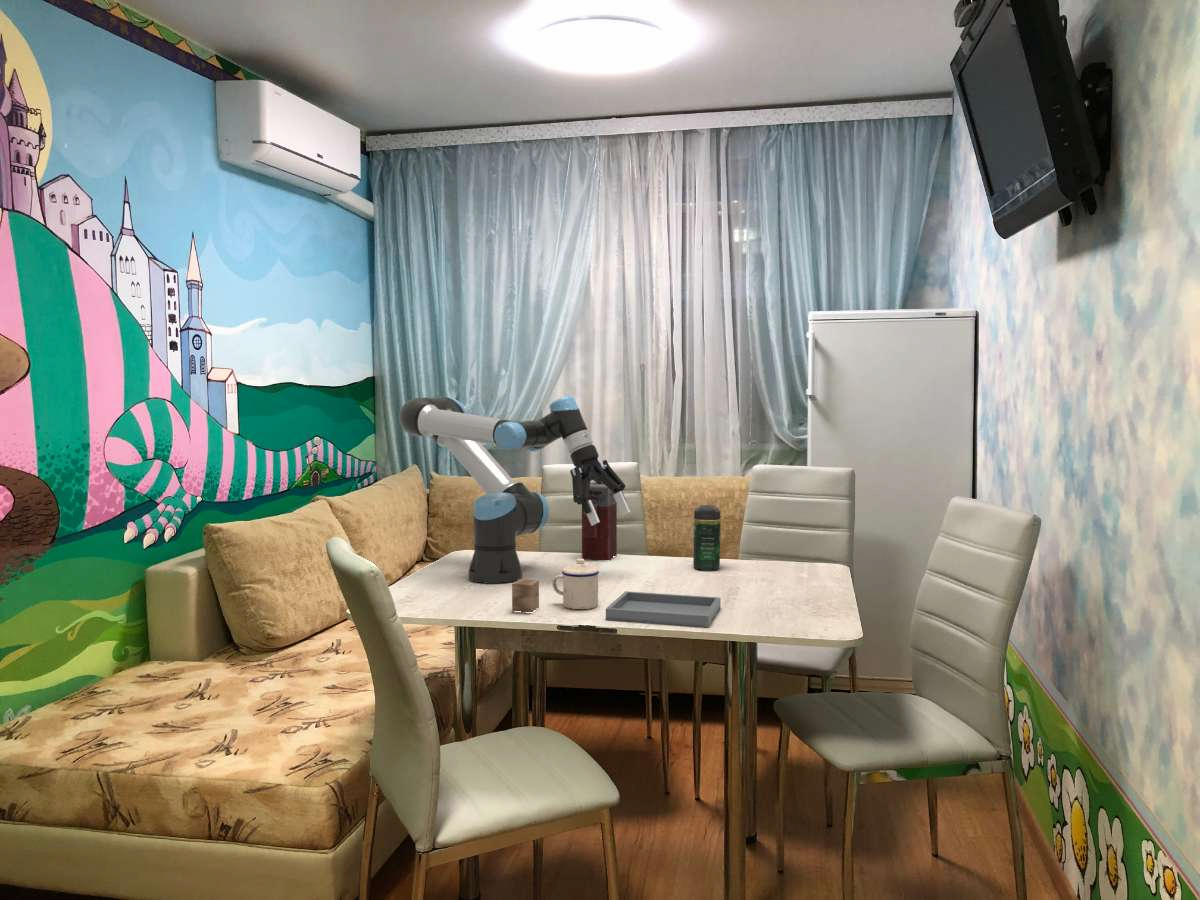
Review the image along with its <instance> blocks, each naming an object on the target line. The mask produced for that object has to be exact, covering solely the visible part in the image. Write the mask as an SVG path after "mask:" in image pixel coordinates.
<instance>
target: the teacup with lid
mask: <svg viewBox="0 0 1200 900" xmlns="http://www.w3.org/2000/svg"><path fill="white" fill-rule="evenodd" d="M585 561H586V560H584V559H582V558H576V562H574V563H573V564H571V565H569V566H565V567H564V568H562V571H561V574H558V575H555V576H554V577H553V578H552V581H551V582H552V583H551V585H552V588H553V591H554V592H555V593H556V594H557V595H560V596H562V604H563V605H562V606H563V607H564V606H565V607H564V608H566V607H567V608H566V609H569V608H572V609H571V610H575V609H586V610H592V609H595V608H596V607H598V606H599V573H600V571H599V569H598V567H596V566H592V565H591V564H590V563H588V562H585ZM557 579H562V591H561V590H560V589H559V588H558V586H557ZM591 608H592V609H591Z"/></svg>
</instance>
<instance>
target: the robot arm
mask: <svg viewBox="0 0 1200 900" xmlns="http://www.w3.org/2000/svg"><path fill="white" fill-rule="evenodd" d="M549 410H550V413H548V414H546V415H545V416H543V417H542V418H539V419H536V420H534V419H533V420H522V421H518V420H517V421H516V420H509V419H503V418H502V419H501V418H496V417H490V416H482V415H477V414H469V413H467V410H466V409H465V407H464V405H463V404H462V403H461V402H460V401H459V400H457V399H456V398H454V397H448V396H438V397H416V398H411V399H408V400H407V401H406V402H405V403H404V404H403V405H402V406H401V408H400V411H399V414H398V420H399V425H400V427H401V428H402V429H403V431H404V432H406V433H407V434H408V435H411V436H414V437H425V438H430V437H431V438H432V439H433V440H434V442H435V443H436V444H437V445H438V446H439V447H441V448H442V447H446V448H447V449H448V450H449V452H450V453H451V454H452V456H454V457H455V458H456V460H457V462H459V463H460V464H461V466H463V468H464V469H465V470H466V471H467V473H469V475H470V476H471V478H473V480H475V482H476V483H477V485H479V486H480V488H481V489H482V490H483V491H484V492H485V494H484V495H481V496H479V497H477V498H476V499H475V501H474V502H473V511H472V516H473V541H474V542H473V543H474V544H473V545H474V546H473V547H474V548H473V549H474V550H473V554H472V558H471V560H470V564H469V566H468V567H469V568H468V575H467V576H468V577H467V579H468V578H469V579H470V580H469V579H468V580H469V581H471V580H473V581H477V582H476V583H478V582H487V583H486V584H503V583H502V582H507V583H512V582H511V581H513V582H516V580H517V581H518V580H519V579H522V578H523V568H522V564H521V561H520V559H519V556H518V553H517V543H516V542H517V537H518V536H523V535H527V534H533V533H535V532H537V531H539V530H541V529H542V528H543V527H544V526H545V525H546V524H547V522H548V519H549V509H550V508H549V503H548V501H547V500H546V498H545V497H544V495H542V494H541V493H540V492H537V491H530V490H529V489H528V487H527V486H526V485H525V484H524V483H523V482H522V481H515V480H513V478H512V477H511V476H510V474H508V473H507V471H506V470H505V469H504V468H503V467H502V466H501V464H500V463H499V462H498V461H497V460H496V459H495V458H494V456H493V455H492V454H491V453H490V452H489V451H488V450H487V448H486V447H485V446H484V445H483V444H486V445H492V446H498V447H499V448H501V449H502V450H509V451H515V450H519V449H520V450H521V449H526V450H529V451H530V452H536V451H537V452H538V451H539V450H542V449H544V448H545V447H547V446H548V445H551V444H552V443H554V442H555V441H557V440H559V439H560V438H562V440H563V443H564V445H565V448H566V450H567V453H568V454H570V459H571V462H572V464H573V466H574V467H573V468H572V469H570V471H569V472H570V475H571V480H572V482H571V483H572V494H573V495H572V496H573V497H572V498H573V499H572V500H573V503H575V504H576V503H577V505H581V508H582V507H583V509H584V512H585V514H587V516H588V519H589V521H590V524H591V526H592V525H595V524H597V523H599V522H600V521H599V519H598V516H597V514H596V511H595V509H594V507H593V504H592V502H591V500H588V495H589V488H590V482H593V481H594V480H598V481H601V482H602V483H603V484H604V485H606V486H607V487H608V488H609V489H610V490H611V491H613V492H614V493H615V494H614V495H613V496H614V498H615V501H616V503H617V508H618V510H619V512H620V515H621V516H622V517H624V516H626V515H628V514H630V513H631V510H630V508H629V505H628V503H627V499H626V496H625V494H624V493H623V491H624V490H625V488H626V486H627V485H626V484H625V483H624V482H623V481H622V479H621V478H620V477H619V475H618V474H617V473H616V472H615V471H614V469H613V468H612V467H611V465H610V464H609V462H608V461H607V459H604V460H602V461H601V462H600V461H599V459H598V458H599V456H600V455H599V452H598V451H597V447H596V445H594V441H593V439H592V437H591V434H590V432H589V430H588V427H587V425H586V423H585V421H584V417H583V416H582V413H581V410H580V407H579V405H578V404H577V402H576V400H575V398H574V397H573V396H571V395H566V396H562V397H559V398H557V399H555V400H553V401H552V402H551V403H550V404H549ZM587 500H588V501H587ZM473 581H472V582H473Z"/></svg>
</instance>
